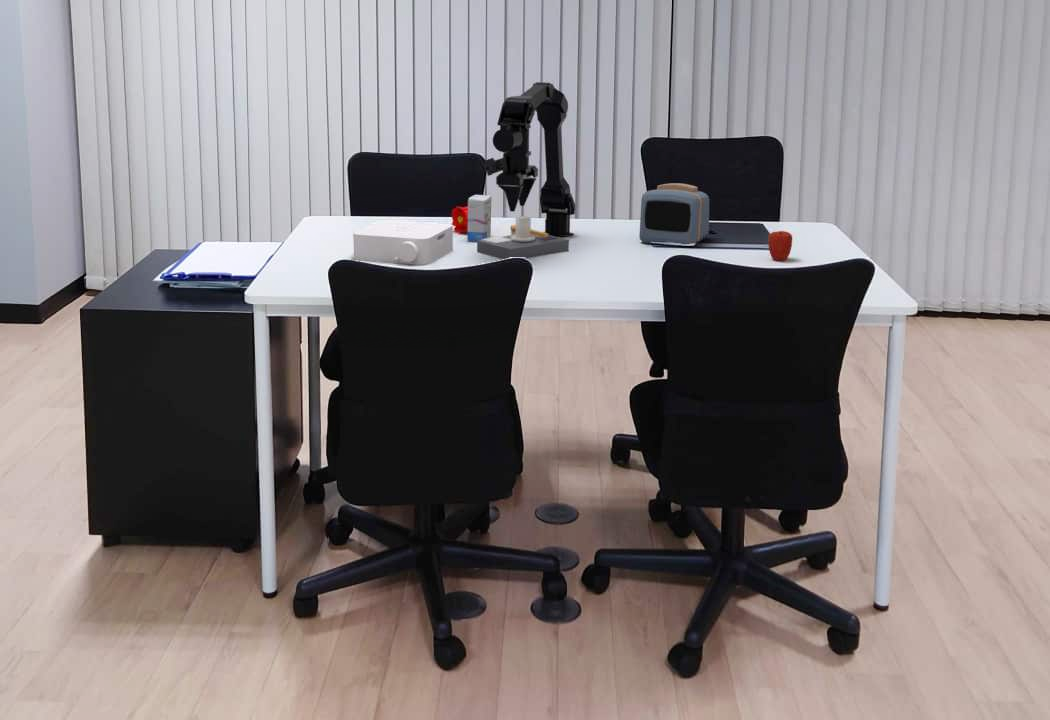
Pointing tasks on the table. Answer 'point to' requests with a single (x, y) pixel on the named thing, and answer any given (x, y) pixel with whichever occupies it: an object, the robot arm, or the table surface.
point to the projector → (403, 242)
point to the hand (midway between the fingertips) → (517, 208)
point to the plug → (523, 230)
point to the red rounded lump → (780, 245)
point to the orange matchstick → (532, 232)
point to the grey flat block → (522, 246)
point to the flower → (460, 219)
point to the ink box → (479, 217)
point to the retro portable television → (674, 214)
